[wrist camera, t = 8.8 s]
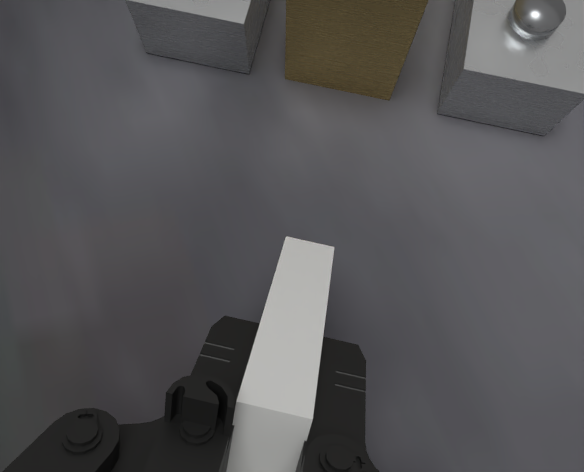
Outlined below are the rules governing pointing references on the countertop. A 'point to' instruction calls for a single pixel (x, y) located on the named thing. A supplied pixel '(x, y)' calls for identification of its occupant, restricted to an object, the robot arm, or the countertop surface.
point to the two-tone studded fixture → (459, 61)
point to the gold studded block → (350, 43)
